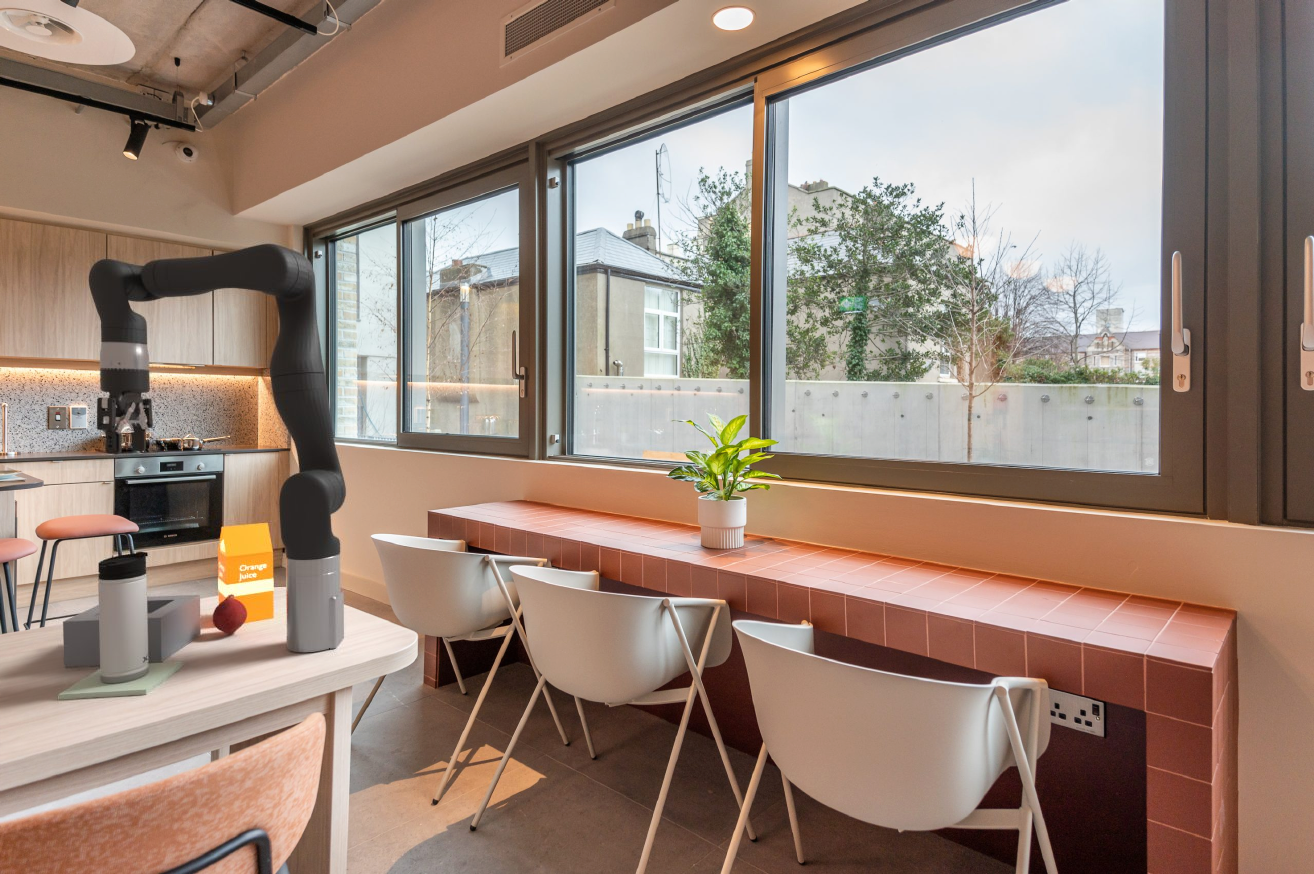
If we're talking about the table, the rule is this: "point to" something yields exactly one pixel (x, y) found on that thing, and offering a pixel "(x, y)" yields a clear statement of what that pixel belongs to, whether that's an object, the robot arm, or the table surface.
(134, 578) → the travel mug
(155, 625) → the holder
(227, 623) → the onion
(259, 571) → the orange juice
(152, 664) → the mat
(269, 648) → the table surface
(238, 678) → the table surface
